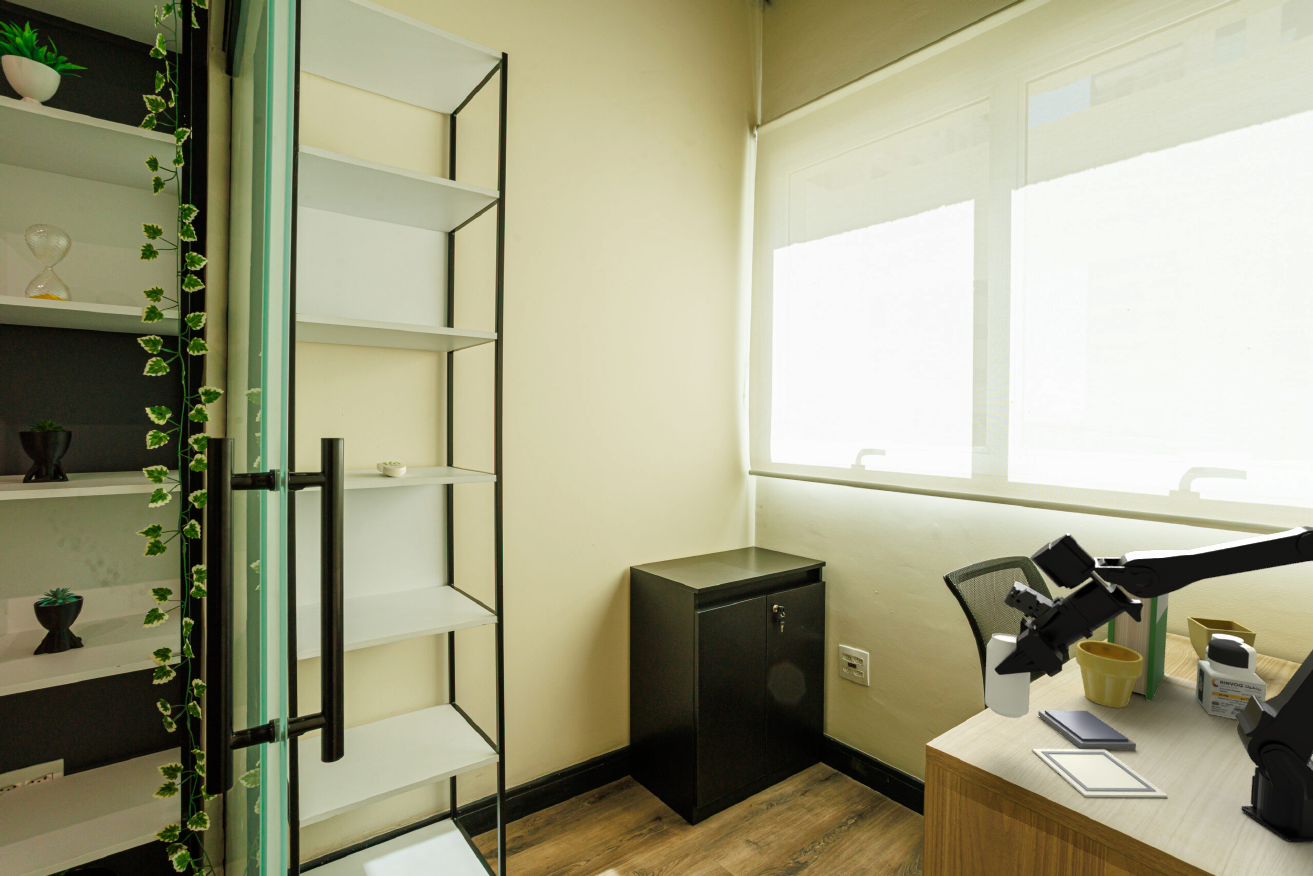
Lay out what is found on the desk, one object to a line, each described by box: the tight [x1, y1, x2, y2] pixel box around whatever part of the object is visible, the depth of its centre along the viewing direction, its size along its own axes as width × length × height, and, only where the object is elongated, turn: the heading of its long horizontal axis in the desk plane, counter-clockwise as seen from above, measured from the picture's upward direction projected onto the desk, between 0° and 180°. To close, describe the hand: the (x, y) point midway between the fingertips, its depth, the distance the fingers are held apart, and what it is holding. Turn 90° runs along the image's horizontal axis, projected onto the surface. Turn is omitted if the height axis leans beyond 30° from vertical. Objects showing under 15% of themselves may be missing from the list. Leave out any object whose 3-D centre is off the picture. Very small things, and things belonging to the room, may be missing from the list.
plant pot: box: [1075, 640, 1143, 709], centre depth 118 cm, size 10×10×10 cm
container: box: [1195, 639, 1267, 720], centre depth 115 cm, size 8×8×13 cm
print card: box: [1031, 748, 1168, 798], centre depth 94 cm, size 12×12×1 cm
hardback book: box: [1106, 583, 1170, 702], centre depth 127 cm, size 18×7×24 cm, turn 135°
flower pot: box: [1186, 616, 1257, 661], centre depth 137 cm, size 9×9×9 cm
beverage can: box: [984, 632, 1031, 719], centre depth 100 cm, size 6×6×12 cm
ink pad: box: [1037, 709, 1137, 751], centre depth 106 cm, size 11×9×1 cm
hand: (998, 665), depth 101 cm, fingers closed on beverage can, 6 cm apart
